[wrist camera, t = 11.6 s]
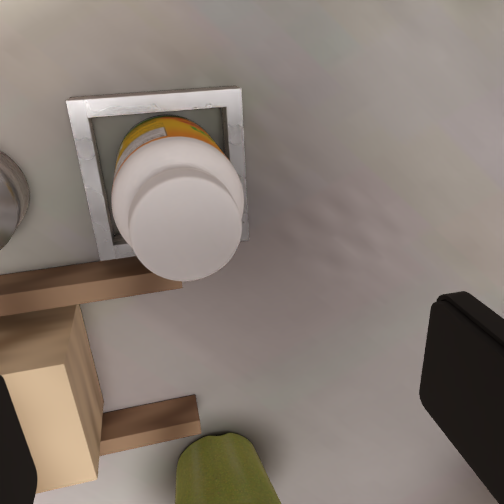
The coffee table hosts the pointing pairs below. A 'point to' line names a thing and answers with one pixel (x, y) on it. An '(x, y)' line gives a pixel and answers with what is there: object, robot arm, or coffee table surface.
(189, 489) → the plant pot
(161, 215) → the supplement bottle
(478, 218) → the coffee table surface
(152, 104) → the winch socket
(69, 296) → the bay
